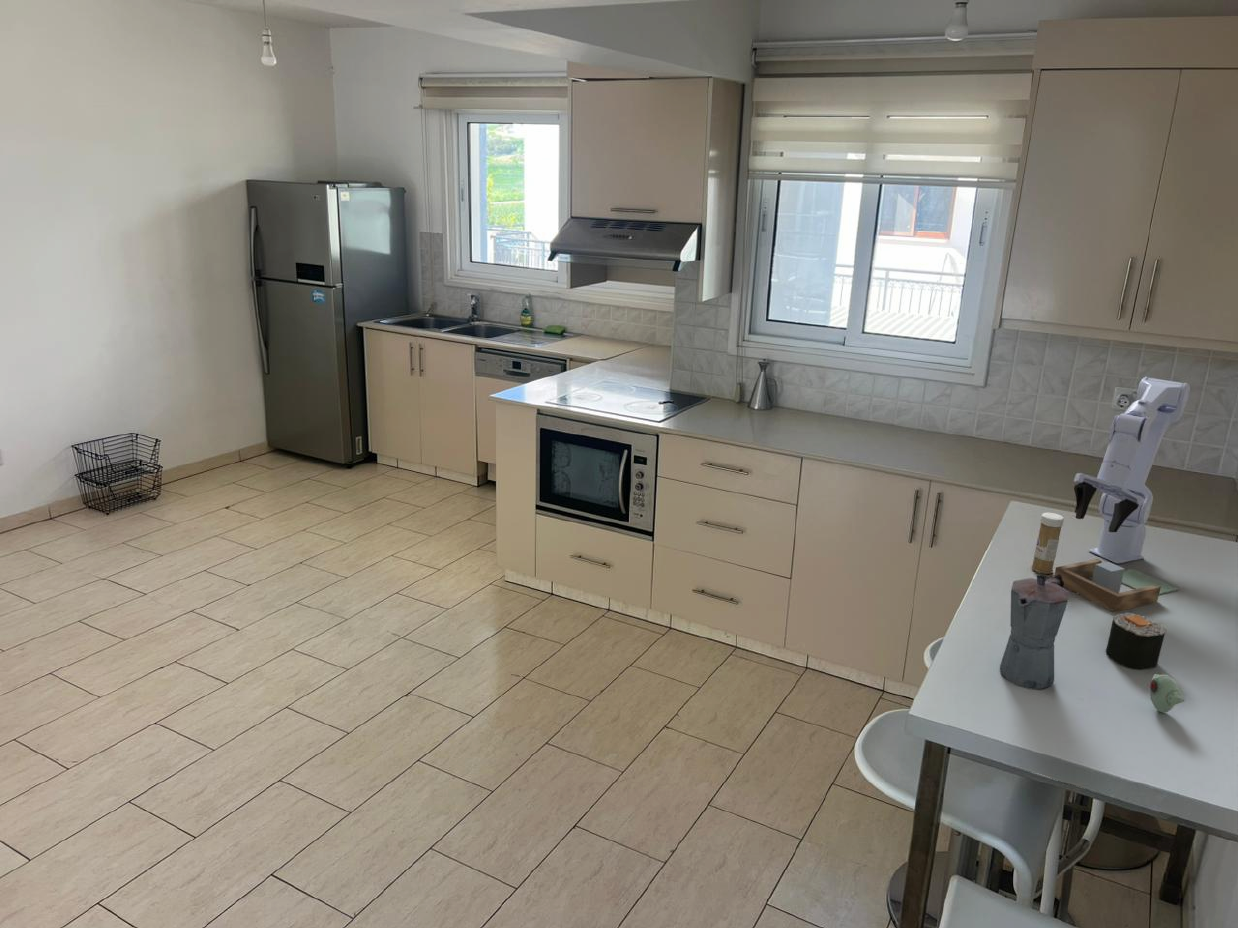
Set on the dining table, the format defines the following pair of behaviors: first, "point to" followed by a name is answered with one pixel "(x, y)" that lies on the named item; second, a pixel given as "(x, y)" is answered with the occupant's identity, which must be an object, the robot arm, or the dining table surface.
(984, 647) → the dining table surface
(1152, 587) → the walnut stall
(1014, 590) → the moka pot
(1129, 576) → the green mat
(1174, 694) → the pale green rounded piece
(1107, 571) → the slate block
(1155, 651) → the sushi
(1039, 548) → the sprinkles bottle
